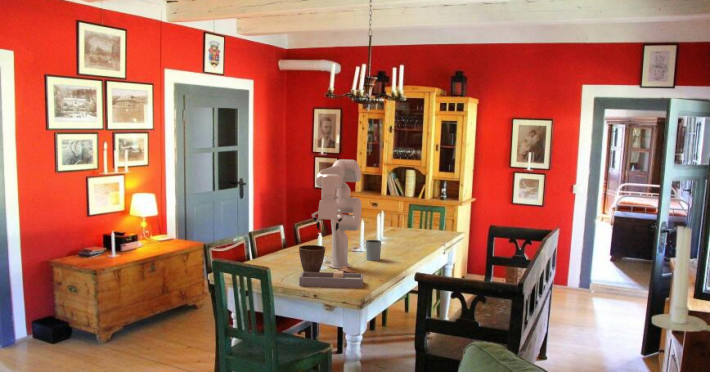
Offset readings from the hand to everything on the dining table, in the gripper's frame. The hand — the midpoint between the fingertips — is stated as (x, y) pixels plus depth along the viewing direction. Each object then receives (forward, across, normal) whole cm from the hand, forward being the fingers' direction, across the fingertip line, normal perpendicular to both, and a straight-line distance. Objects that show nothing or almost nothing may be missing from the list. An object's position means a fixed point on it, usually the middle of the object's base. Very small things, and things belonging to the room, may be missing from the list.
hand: (327, 230), depth 301 cm
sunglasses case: (+28, -9, -17) cm, 34 cm away
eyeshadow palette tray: (+28, -3, +2) cm, 29 cm away
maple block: (+26, -7, +2) cm, 27 cm away
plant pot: (+28, +9, -14) cm, 33 cm away
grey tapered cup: (+26, -25, -60) cm, 70 cm away
